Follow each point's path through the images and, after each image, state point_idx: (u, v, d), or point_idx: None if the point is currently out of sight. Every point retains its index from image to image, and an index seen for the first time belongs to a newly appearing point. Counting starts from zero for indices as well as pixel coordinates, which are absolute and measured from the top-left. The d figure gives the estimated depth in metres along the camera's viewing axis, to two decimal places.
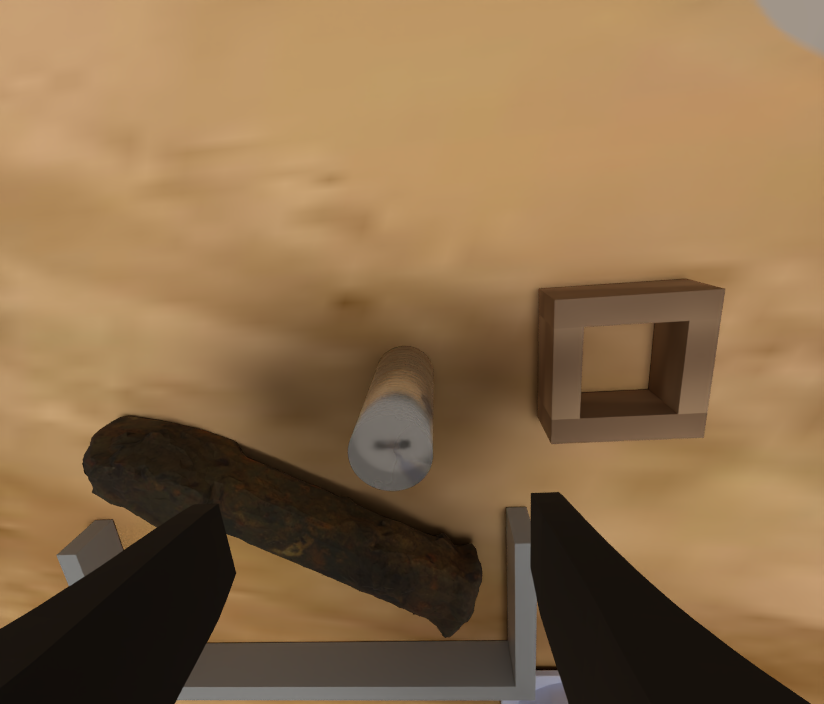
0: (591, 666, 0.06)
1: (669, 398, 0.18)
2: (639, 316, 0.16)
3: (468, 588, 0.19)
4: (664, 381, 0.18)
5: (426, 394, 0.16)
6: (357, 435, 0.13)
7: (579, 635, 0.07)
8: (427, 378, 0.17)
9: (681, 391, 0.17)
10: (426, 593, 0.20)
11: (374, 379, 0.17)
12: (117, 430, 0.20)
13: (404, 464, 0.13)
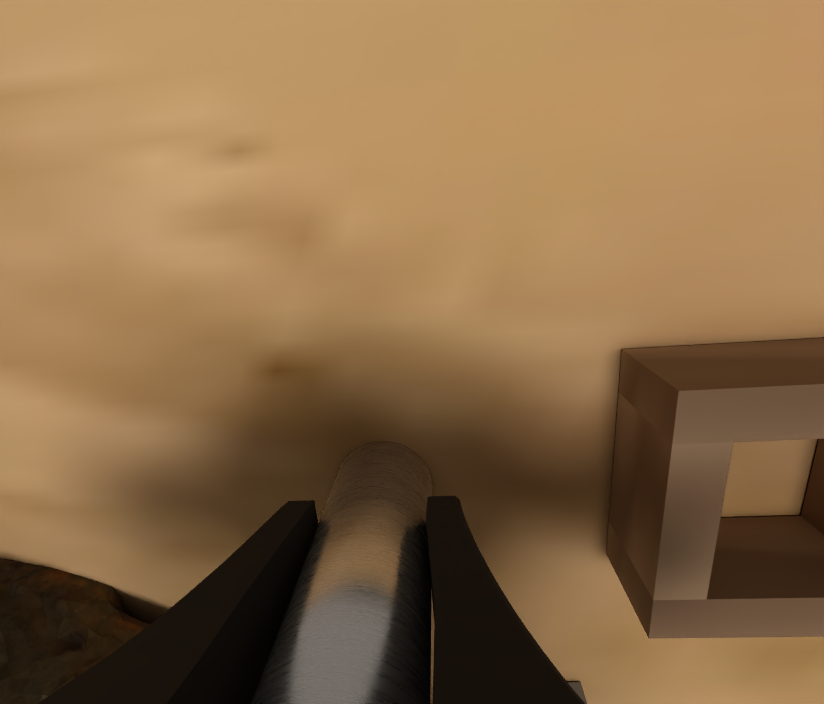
0: None
1: None
2: None
3: None
4: None
5: (416, 592, 0.07)
6: None
7: None
8: (420, 527, 0.09)
9: None
10: None
11: (318, 534, 0.09)
12: None
13: None
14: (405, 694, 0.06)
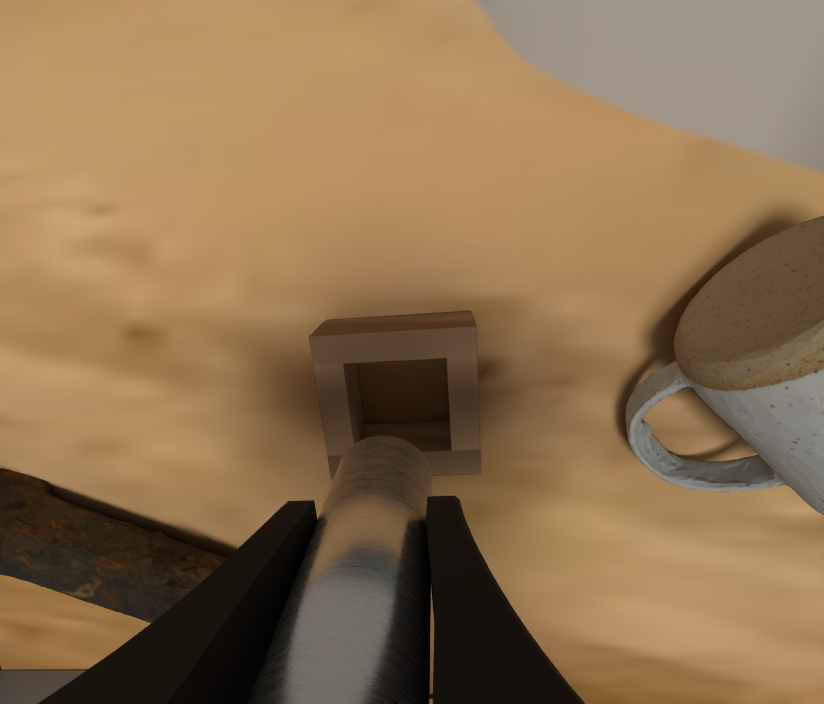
0: None
1: None
2: (396, 353, 0.16)
3: None
4: (449, 415, 0.18)
5: (416, 578, 0.08)
6: None
7: None
8: (420, 517, 0.09)
9: (451, 428, 0.16)
10: None
11: (319, 524, 0.09)
12: None
13: None
14: (405, 675, 0.06)
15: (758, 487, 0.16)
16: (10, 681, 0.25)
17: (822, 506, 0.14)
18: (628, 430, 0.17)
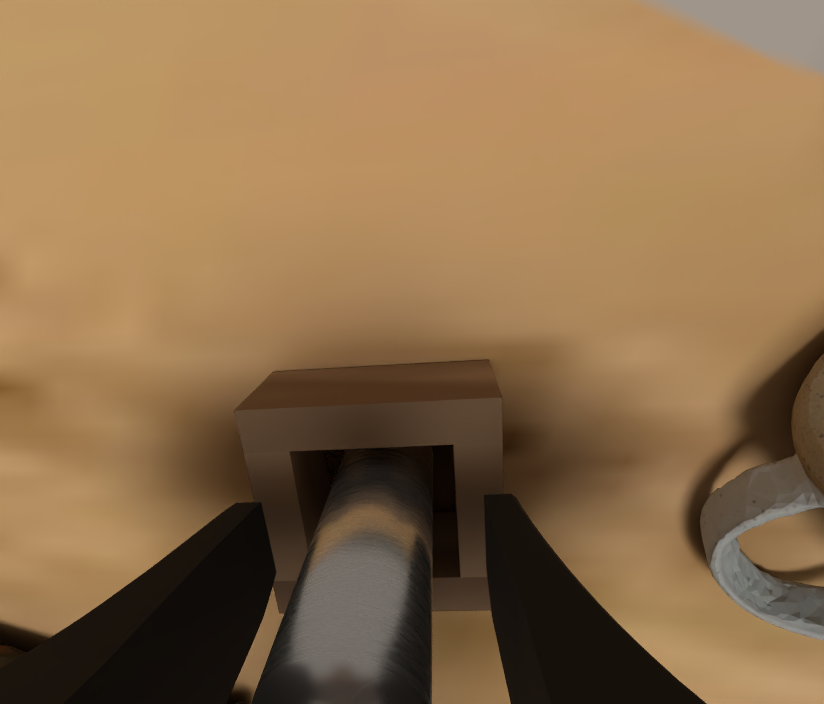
0: (522, 666, 0.06)
1: (458, 545, 0.11)
2: (373, 437, 0.10)
3: None
4: None
5: (420, 538, 0.09)
6: (269, 688, 0.06)
7: (514, 634, 0.07)
8: (422, 489, 0.10)
9: (459, 546, 0.11)
10: None
11: (332, 494, 0.10)
12: None
13: None
14: (411, 611, 0.07)
15: None
16: None
17: None
18: (711, 552, 0.12)
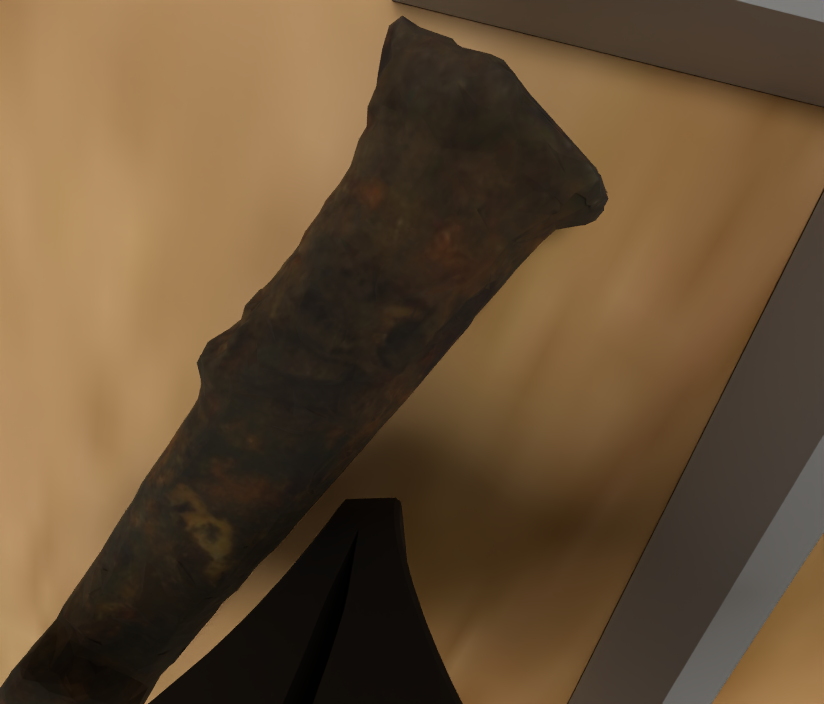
0: None
1: None
2: None
3: (400, 65, 0.05)
4: None
5: None
6: None
7: None
8: None
9: None
10: (396, 224, 0.06)
11: None
12: None
13: None
14: None
15: None
16: None
17: None
18: None
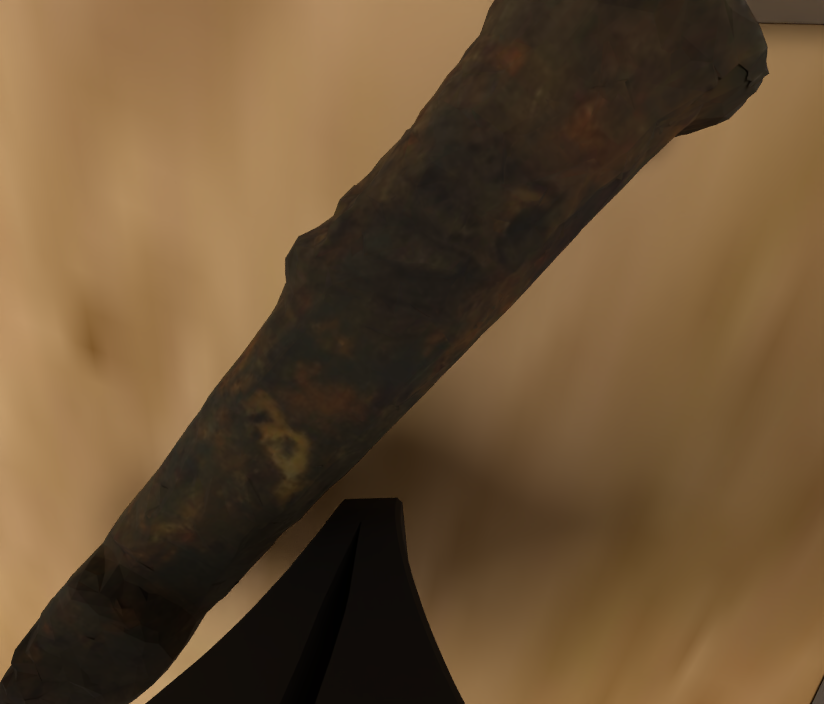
0: None
1: None
2: None
3: None
4: None
5: None
6: None
7: None
8: None
9: None
10: (534, 95, 0.05)
11: None
12: None
13: None
14: None
15: None
16: None
17: None
18: None
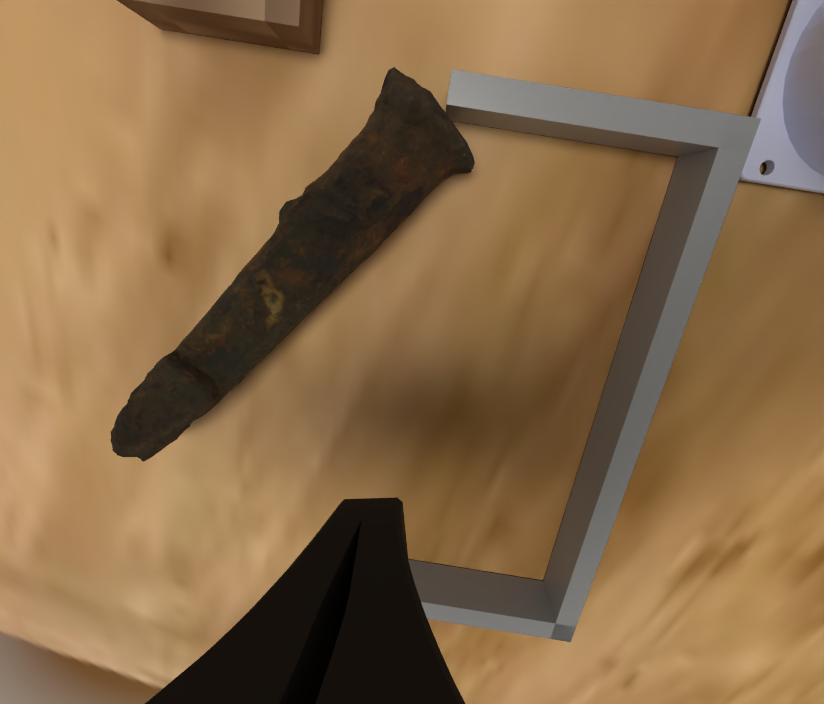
0: None
1: None
2: None
3: (390, 87, 0.13)
4: None
5: None
6: None
7: None
8: None
9: None
10: (381, 153, 0.14)
11: None
12: None
13: None
14: None
15: None
16: (552, 572, 0.22)
17: None
18: None
